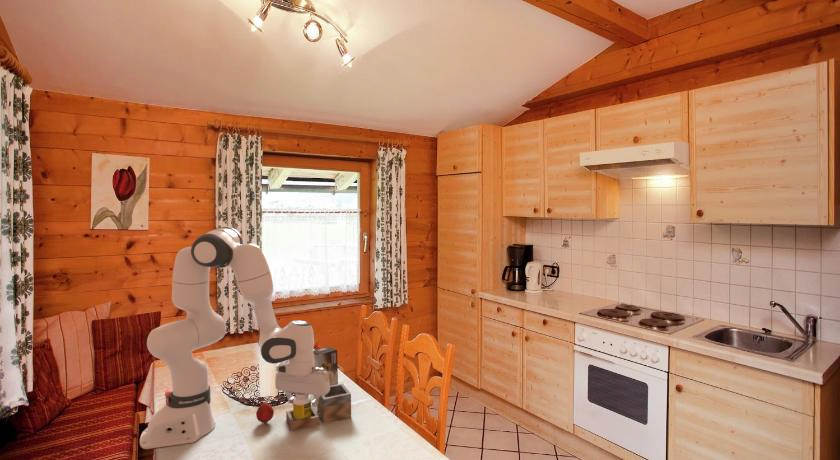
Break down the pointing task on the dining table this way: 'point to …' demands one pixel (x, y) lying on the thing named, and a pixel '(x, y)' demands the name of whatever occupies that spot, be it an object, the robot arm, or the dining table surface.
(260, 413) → the onion
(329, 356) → the coffee box
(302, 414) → the pill bottle
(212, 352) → the dining table surface
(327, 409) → the stepped holder
